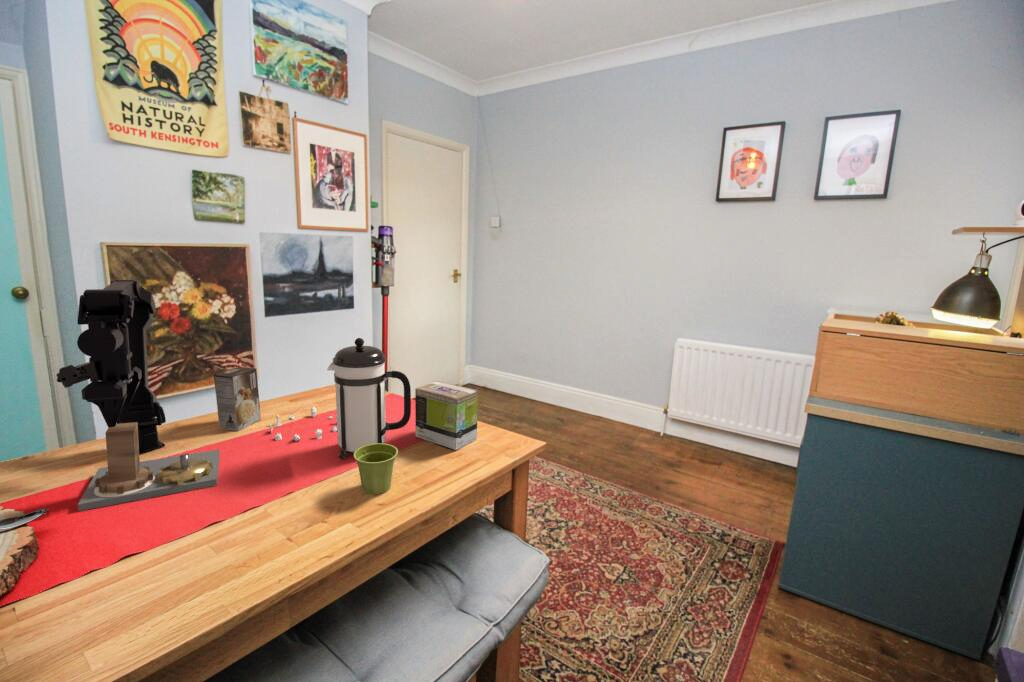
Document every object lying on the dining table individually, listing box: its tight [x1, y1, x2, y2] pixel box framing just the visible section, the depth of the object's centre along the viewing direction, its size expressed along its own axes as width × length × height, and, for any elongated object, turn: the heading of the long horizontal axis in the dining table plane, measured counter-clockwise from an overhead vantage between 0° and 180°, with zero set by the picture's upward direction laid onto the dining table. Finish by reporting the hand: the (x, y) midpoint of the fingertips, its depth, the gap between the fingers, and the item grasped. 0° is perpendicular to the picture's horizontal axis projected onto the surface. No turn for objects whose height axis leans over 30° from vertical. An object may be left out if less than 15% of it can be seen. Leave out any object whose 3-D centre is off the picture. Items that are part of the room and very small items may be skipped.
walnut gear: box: [95, 422, 153, 494], centre depth 97 cm, size 9×9×12 cm
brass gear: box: [157, 453, 213, 486], centre depth 103 cm, size 10×10×4 cm
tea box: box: [414, 380, 479, 451], centre depth 130 cm, size 15×10×15 cm
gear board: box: [77, 449, 221, 512], centre depth 104 cm, size 16×23×2 cm
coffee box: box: [213, 366, 262, 432], centre depth 133 cm, size 9×6×16 cm
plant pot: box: [353, 442, 399, 495], centre depth 103 cm, size 9×9×9 cm
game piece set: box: [269, 406, 337, 442], centre depth 134 cm, size 19×20×4 cm
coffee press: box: [326, 337, 412, 460], centre depth 120 cm, size 17×16×30 cm
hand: (117, 420), depth 100 cm, fingers open, 9 cm apart
